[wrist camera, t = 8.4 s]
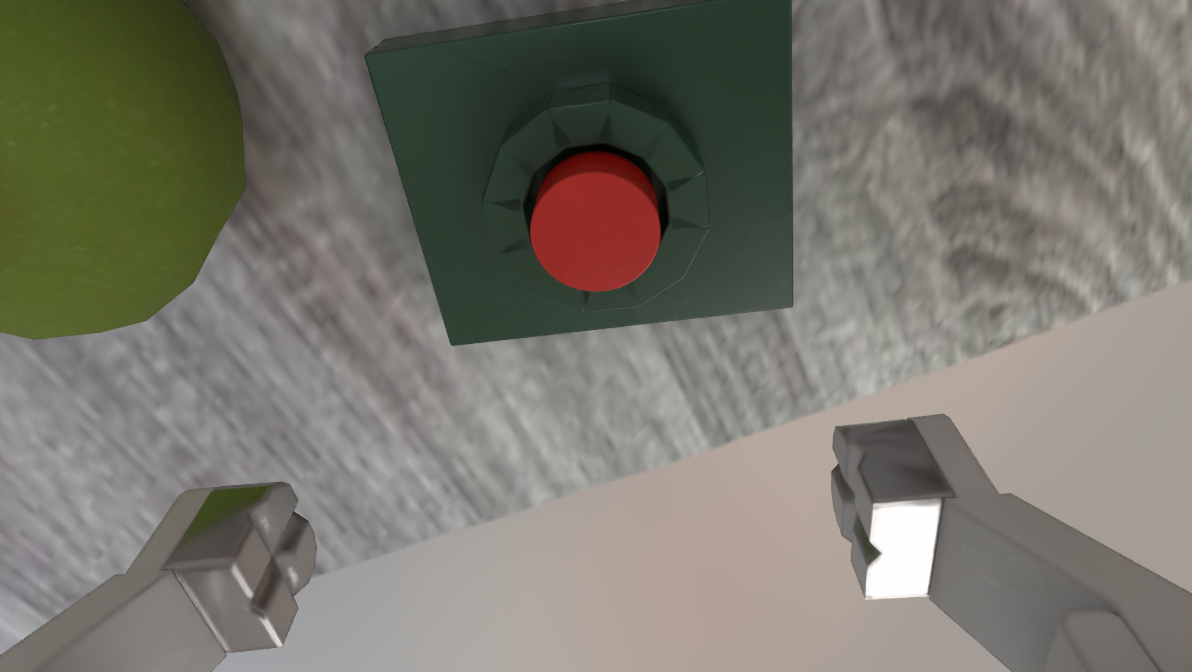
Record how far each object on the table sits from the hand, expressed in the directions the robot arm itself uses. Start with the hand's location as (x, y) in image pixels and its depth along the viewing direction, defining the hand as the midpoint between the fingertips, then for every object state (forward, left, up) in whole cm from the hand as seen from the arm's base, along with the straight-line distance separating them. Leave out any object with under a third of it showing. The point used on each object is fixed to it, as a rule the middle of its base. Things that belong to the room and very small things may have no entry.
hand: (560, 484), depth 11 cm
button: (0, +1, -12) cm, 12 cm away
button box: (0, +1, -16) cm, 16 cm away
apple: (+14, -4, -16) cm, 22 cm away
